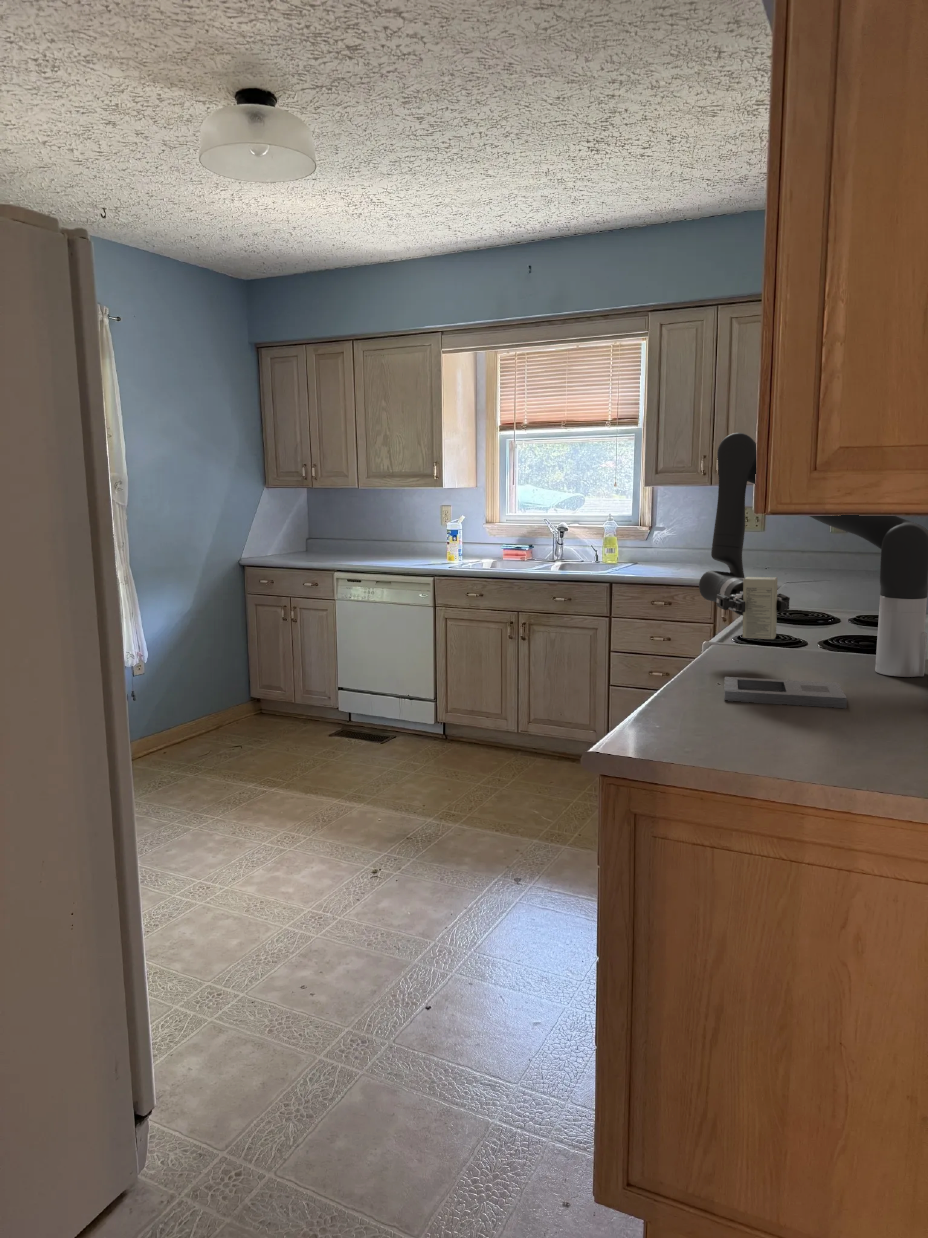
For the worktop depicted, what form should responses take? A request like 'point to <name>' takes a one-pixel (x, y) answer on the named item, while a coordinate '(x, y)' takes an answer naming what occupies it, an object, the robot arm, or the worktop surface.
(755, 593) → the skincare box
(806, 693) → the grey recessed board
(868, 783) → the worktop surface
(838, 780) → the worktop surface
